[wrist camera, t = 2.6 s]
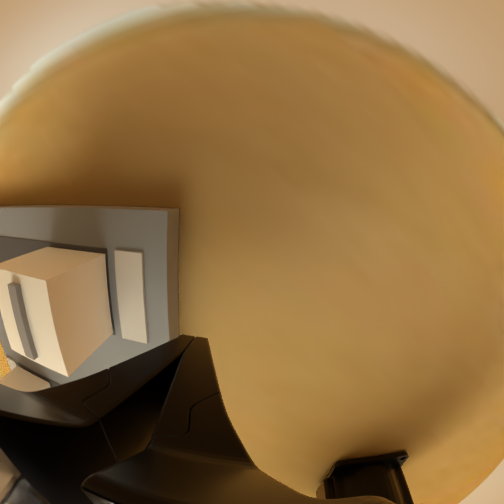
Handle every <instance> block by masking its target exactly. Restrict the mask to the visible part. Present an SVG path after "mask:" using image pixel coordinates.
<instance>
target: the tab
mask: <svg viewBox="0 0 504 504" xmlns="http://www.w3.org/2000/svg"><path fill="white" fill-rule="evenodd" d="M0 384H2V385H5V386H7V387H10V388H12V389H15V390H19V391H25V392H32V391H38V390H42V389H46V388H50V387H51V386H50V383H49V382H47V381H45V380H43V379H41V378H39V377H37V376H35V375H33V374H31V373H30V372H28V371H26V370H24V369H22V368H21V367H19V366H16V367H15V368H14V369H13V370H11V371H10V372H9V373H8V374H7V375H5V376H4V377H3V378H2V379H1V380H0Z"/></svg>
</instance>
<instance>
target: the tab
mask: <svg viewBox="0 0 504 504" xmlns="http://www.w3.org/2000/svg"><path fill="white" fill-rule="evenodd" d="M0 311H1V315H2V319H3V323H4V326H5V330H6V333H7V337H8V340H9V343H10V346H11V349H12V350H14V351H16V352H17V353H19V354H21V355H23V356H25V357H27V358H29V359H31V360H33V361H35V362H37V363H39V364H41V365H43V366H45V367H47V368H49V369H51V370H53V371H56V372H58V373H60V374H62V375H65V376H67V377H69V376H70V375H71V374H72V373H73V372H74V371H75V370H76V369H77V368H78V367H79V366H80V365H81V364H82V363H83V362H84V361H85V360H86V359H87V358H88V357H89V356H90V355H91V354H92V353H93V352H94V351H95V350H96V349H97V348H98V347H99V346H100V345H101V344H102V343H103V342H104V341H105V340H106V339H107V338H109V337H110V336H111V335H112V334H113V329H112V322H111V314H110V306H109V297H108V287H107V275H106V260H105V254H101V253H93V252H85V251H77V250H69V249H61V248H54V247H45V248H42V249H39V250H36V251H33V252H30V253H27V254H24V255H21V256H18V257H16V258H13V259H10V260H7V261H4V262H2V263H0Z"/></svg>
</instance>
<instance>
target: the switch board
mask: <svg viewBox="0 0 504 504" xmlns="http://www.w3.org/2000/svg"><path fill="white" fill-rule="evenodd" d="M179 211H180V209H177V208H157V207H133V206H99V205H11V206H0V263H2V262H4V261H7V260H10V259H13V258H16V257H18V256H21V255H24V254H27V253H30V252H33V251H36V250H39V249H42V248H45V247H54V248H61V249H69V250H77V251H85V252H93V253H101V254H105V260H106V275H107V287H108V297H109V306H110V314H111V322H112V329H113V334H112V335H111V336H110V337H109V338H107V339H106V340H105V341H104V342H103V343H102V344H101V345H100V346H99V347H98V348H97V349H96V350H95V351H94V352H93V353H92V354H91V355H90V356H89V357H88V358H87V359H86V360H85V361H84V362H83V363H82V364H81V365H80V366H79V367H78V368H77V369H76V370H75V371H74V372H73V373H72V374H71V375H70V376H69V377H67V376H65V375H62V374H60V373H58V372H56V371H53V370H51V369H49V368H47V367H45V366H43V365H41V364H39V363H37V362H35V361H33V360H31V359H29V358H27V357H25V356H23V355H21V354H19V353H17V352H16V351H14V350H12V349H11V346H10V343H9V340H8V337H7V333H6V330H5V326H4V323H3V319H2V315H1V311H0V341H1V344H2V347H3V350H4V353H5V355H6V358H7V361H8V363H9V366H10V369H11V370H13V369H14V368H15V367H16V366H19V367H21V368H22V369H24V370H26V371H28V372H30V373H31V374H33V375H35V376H37V377H39V378H41V379H43V380H45V381H47V382H49V383H50V386H51V387H54V386H57V385H61V384H64V383H68V382H71V381H74V380H78V379H81V378H84V377H87V376H89V375H92V374H95V373H97V372H100V371H102V370H104V369H108V370H109V367H112V366H114V365H116V364H119V363H121V362H123V361H126V360H128V359H130V358H133V357H135V356H137V355H139V354H142V353H144V352H146V351H148V350H151V349H153V348H155V347H157V346H159V345H162V344H164V343H166V342H168V341H170V340H172V339H175V338H177V337H179V312H178V239H179Z"/></svg>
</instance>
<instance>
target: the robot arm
mask: <svg viewBox="0 0 504 504" xmlns="http://www.w3.org/2000/svg"><path fill="white" fill-rule="evenodd" d="M407 458H408V453H407V452H401V453H396V454H390V455H385V456H378V457H372V458H364V459H355V460H345V461H339V462H336V463H335V464H334V465H333V467H332V469H331V470H330V472H329V474H328V476H327V477H326V478H325V479H324V480H323V481H322V483H321V485H320V486H319V488H318V490H317V491H316V496H317V498H313V497H308V496H305V495H303V494H300V493H299V492H297V491H295V490H293V489H291V488H289V487H288V486H286V485H284V484H282V483H281V482H279V481H277V480H275V479H274V478H272V477H270V476H269V475H267V474H266V473H264V472H262V471H261V470H260V469H259V468H258V467H257V466H256V465H255V464H254V462H253V461H252V459H251V458H250V456H249V455H248V453H247V451H246V449H245V448H244V446H243V444H242V442H241V440H240V439H239V437H238V435H237V433H236V431H235V429H234V427H233V426H232V423H231V421H230V419H229V417H228V415H227V412H226V409H225V406H224V403H223V399H222V395H221V392H220V388H219V384H218V380H217V376H216V372H215V368H214V364H213V359H212V355H211V351H210V346H209V342H208V339H207V338H203V337H194V336H190V335H181V336H179V337H177V338H175V339H172V340H170V341H168V342H166V343H164V344H162V345H159V346H157V347H155V348H153V349H151V350H148V351H146V352H144V353H142V354H139V355H137V356H135V357H133V358H130V359H128V360H126V361H123V362H121V363H119V364H116V365H114V366H112V367H109V370H108V369H104V370H102V371H100V372H97V373H95V374H92V375H89V376H87V377H84V378H81V379H78V380H74V381H71V382H68V383H64V384H61V385H57V386H54V387H50V388H46V389H42V390H38V391H32V392H25V391H19V390H15V389H12V388H10V387H7V386H5V385H2V384H0V504H414V503H413V500H412V497H411V494H410V491H409V488H408V485H407V482H406V480H405V477H404V474H403V471H402V468H401V466H402V465H403V463H404V462H405V461H406V459H407Z"/></svg>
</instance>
